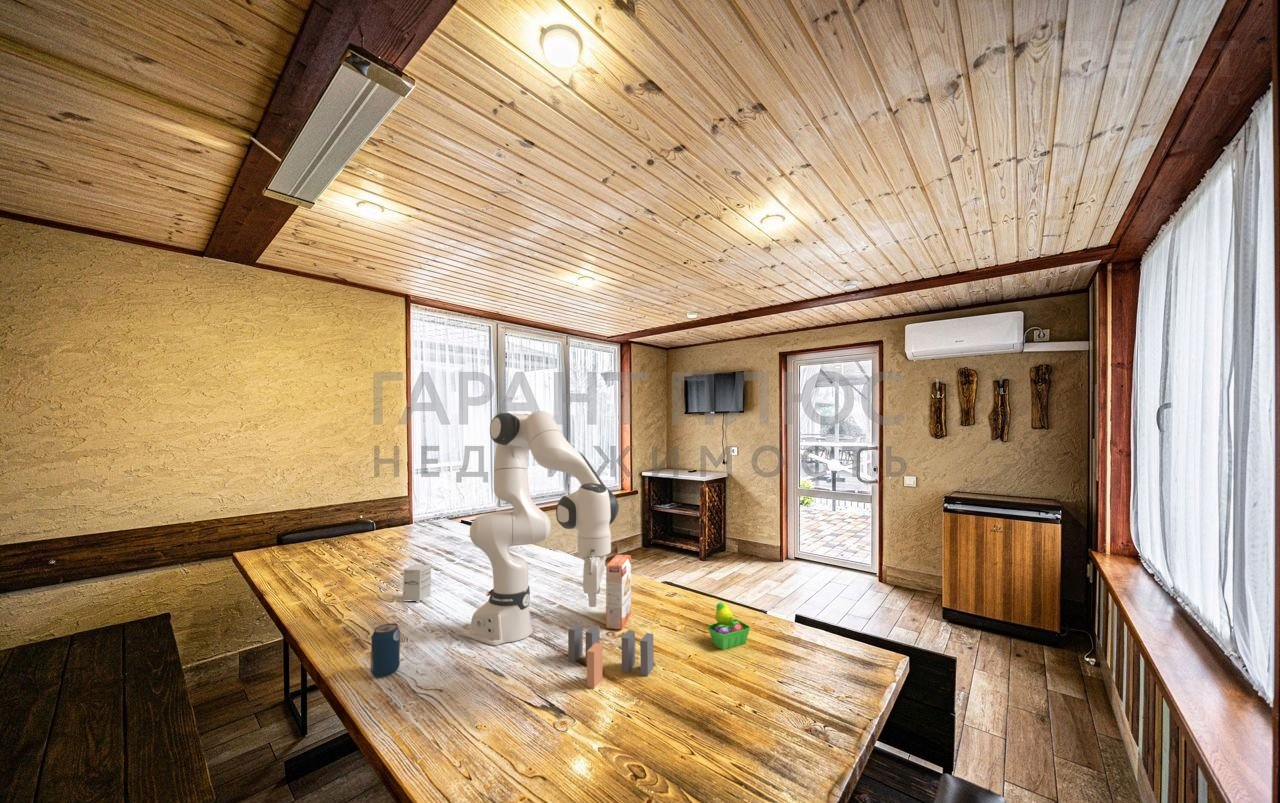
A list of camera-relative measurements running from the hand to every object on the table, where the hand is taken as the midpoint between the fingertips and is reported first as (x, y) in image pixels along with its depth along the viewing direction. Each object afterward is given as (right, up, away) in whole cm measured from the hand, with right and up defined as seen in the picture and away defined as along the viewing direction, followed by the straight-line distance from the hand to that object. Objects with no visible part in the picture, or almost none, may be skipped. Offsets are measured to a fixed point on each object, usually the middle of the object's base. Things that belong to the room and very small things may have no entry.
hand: (594, 599), depth 122 cm
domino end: (+14, -21, +4) cm, 26 cm away
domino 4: (+9, -22, +6) cm, 24 cm away
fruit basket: (+39, -22, +21) cm, 50 cm away
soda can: (-58, -23, +5) cm, 63 cm away
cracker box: (+5, -24, +37) cm, 45 cm away
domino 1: (-7, -22, +12) cm, 26 cm away
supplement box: (-76, -26, +61) cm, 101 cm away
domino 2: (-2, -22, +10) cm, 24 cm away
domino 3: (0, -21, -1) cm, 21 cm away
